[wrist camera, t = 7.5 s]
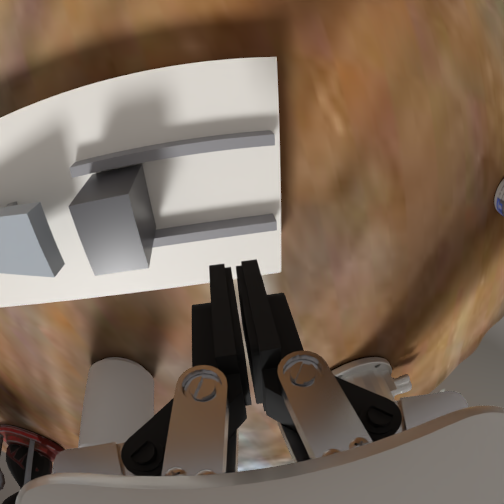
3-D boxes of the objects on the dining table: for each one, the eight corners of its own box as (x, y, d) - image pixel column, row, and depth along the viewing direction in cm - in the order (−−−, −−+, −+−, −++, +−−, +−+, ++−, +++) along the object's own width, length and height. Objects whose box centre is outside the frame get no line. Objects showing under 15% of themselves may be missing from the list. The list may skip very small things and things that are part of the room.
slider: (142, 163, 16) (128, 194, 12) (156, 226, 18) (148, 268, 15) (92, 174, 15) (68, 206, 12) (110, 234, 18) (94, 275, 14)
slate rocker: (40, 201, 13) (27, 213, 12) (64, 263, 15) (54, 277, 14) (-31, 213, 14) (-42, 222, 13) (-9, 261, 16) (-18, 271, 15)
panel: (265, 57, 16) (288, 56, 12) (271, 247, 24) (289, 293, 20) (-82, 165, 13) (-117, 192, 9) (-28, 290, 21) (-48, 326, 17)
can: (85, 348, 28) (68, 454, 18) (154, 356, 30) (153, 466, 20) (95, 384, 32) (86, 474, 22) (154, 391, 34) (155, 483, 24)
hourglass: (60, 459, 50) (58, 549, 30) (0, 435, 42) (-10, 526, 22) (71, 445, 44) (69, 556, 24) (-3, 415, 36) (-17, 528, 16)
